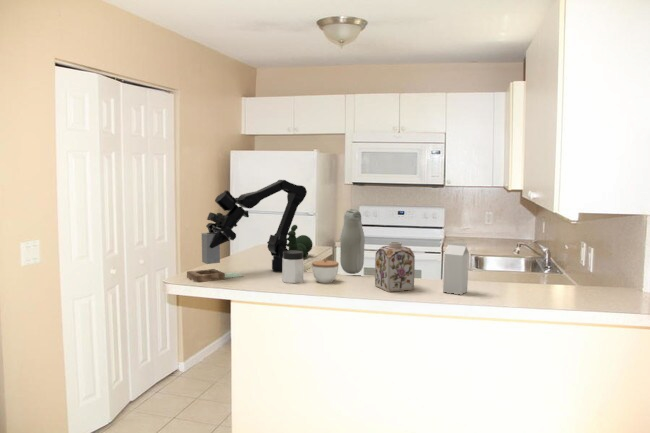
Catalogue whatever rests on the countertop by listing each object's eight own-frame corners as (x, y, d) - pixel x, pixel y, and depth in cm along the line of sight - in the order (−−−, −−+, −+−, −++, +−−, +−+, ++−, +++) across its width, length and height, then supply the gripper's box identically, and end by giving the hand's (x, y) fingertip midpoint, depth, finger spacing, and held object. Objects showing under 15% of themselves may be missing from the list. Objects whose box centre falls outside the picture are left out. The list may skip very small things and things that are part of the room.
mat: (235, 273, 250) (235, 272, 250) (243, 276, 244) (243, 275, 244) (217, 274, 246) (217, 274, 246) (225, 278, 239) (225, 277, 239)
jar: (290, 284, 230) (291, 254, 229) (277, 280, 236) (278, 251, 235) (307, 281, 236) (308, 252, 235) (294, 278, 242) (294, 249, 241)
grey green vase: (367, 273, 255) (369, 209, 252) (352, 276, 247) (354, 210, 245) (350, 270, 261) (352, 208, 259) (335, 273, 254) (336, 209, 251)
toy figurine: (300, 266, 278) (317, 253, 302) (299, 227, 275) (316, 218, 298) (282, 264, 281) (299, 252, 304) (281, 226, 278) (299, 217, 301)
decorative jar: (400, 284, 234) (401, 239, 232) (414, 290, 223) (416, 243, 221) (373, 286, 229) (374, 240, 228) (387, 292, 218) (388, 245, 217)
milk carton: (461, 295, 216) (463, 244, 214) (442, 292, 219) (444, 242, 218) (467, 291, 222) (469, 242, 220) (449, 289, 225) (451, 240, 224)
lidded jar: (307, 282, 234) (307, 259, 233) (318, 277, 244) (319, 255, 243) (331, 285, 230) (331, 261, 229) (342, 280, 239) (342, 257, 238)
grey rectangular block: (214, 260, 243) (214, 232, 242) (220, 262, 239) (219, 233, 237) (202, 262, 240) (201, 233, 239) (207, 264, 236) (206, 234, 234)
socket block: (214, 274, 247) (214, 268, 246) (224, 279, 237) (224, 273, 237) (186, 277, 240) (186, 271, 240) (196, 282, 231) (196, 276, 231)
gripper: (210, 203, 247) (185, 231, 242) (228, 207, 231) (202, 236, 226) (227, 221, 252) (204, 248, 247) (246, 225, 237) (222, 254, 232)
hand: (207, 246), depth 238 cm, fingers closed on grey rectangular block, 5 cm apart
